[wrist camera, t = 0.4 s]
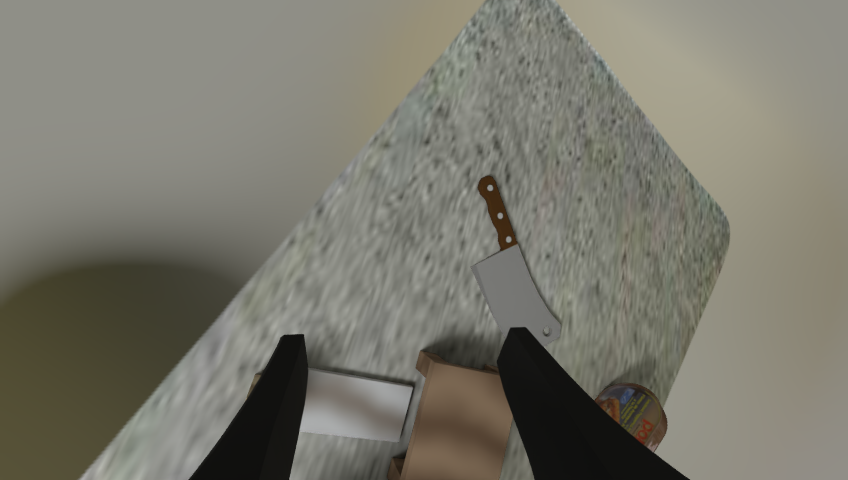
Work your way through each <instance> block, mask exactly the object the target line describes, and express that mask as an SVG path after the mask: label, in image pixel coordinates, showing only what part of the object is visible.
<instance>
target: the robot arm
mask: <svg viewBox="0 0 848 480" xmlns="http://www.w3.org/2000/svg"><path fill="white" fill-rule="evenodd" d="M497 365H498V370H499V374H500V378H501V382H502V386H503V390H504V393H505V396H506V399H507V401H508V404H509V407H510V410H511V412H512V415H513V418H514V420H515V423H516V426H517V428H518V431H519V434H520V436H521V439H522V442H523V444H524V447H525V450H526V453H527V456H528V459H529V462H530V465H531V468H532V471H533V475H534V479H535V480H690V479H688V478H687V477H685V476H684V475H683V474H681V473H680V472H678V471H677V470H676V469H674V468H673V467H672V466H670V465H669V464H668V463H666V462H665V461H664V460H662V459H661V458H660V457H659V456H657V455H656V454H655V453H654V452H652V451H651V450H650V449H649V448H647V447H646V446H645V445H643V444H642V443H641V442H640V441H639V440H637V439H636V438H635V437H634V436H632V435H631V434H630V433H629V432H628V431H627V430H626V429H624V428H623V427H622V426H621V425H620V424H619V423H618V422H616V421H615V420H614V419H613V418H612V417H611V416H610V415H609V414H607V413H606V412H605V411H604V410H603V409H602V408H601V407H600V406H599V405H598V404H597V403H596V402H595V401H594V400H593V399H592V398H591V397H590V396H589V395H588V394H587V393H586V392H585V391H584V390H583V389H582V388H581V387H580V386H579V385H578V384H577V383H576V382H575V381H574V380H573V379H572V378H571V377H570V376H569V375H568V373H567V372H566V371H565V370H564V369H563V368H562V367H561V366H560V365H559V364H558V363H557V362H556V360H555V359H554V358H553V357H552V356H551V355H550V354H549V353H548V351H547V350H546V349H545V348H544V347H543V346H542V345H541V343H540V342H539V341H538V340H537V339H536V338H535V337H534V336H533V334H532V333H531V332H530V331H529V330H528V329H527V328H526V327H510V329H509V332H508V334H507V337H506V339H505V342H504V345H503V347H502V350H501V352H500V355H499V357H498V360H497ZM308 372H309V371H308V363H307V355H306V347H305V339H304V334H295V335H283V336H282V337H281V338H280V340H279V343H278V345H277V347H276V349H275V351H274V353H273V355H272V357H271V359H270V360H269V362H268V364H267V366H266V368H265V369H264V371H263V373H262V375H261V376H260V378H259V380H258V381H257V383H256V385H255V386H254V388H253V390H252V391H251V393H250V395H249V396H248V398H247V399H246V401H245V403H244V404H243V406H242V407H241V409H240V410H239V412H238V413H237V415H236V416H235V418H234V419H233V420H232V422H231V423H230V425H229V426H228V428H227V429H226V431H225V432H224V434H223V435H222V436H221V438H220V439H219V441H218V442H217V443H216V445H215V446H214V447H213V449H212V450H211V451H210V453H209V454H208V455H207V457H206V458H205V459H204V461H203V462H202V463H201V465H200V466H199V467H198V469H197V470H196V471H195V472H194V474H193V475H192V476H191V477H190V479H189V480H289V477H290V473H291V468H292V463H293V459H294V454H295V449H296V445H297V440H298V435H299V430H300V426H301V421H302V416H303V411H304V406H305V400H306V391H307V382H308Z"/></svg>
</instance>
